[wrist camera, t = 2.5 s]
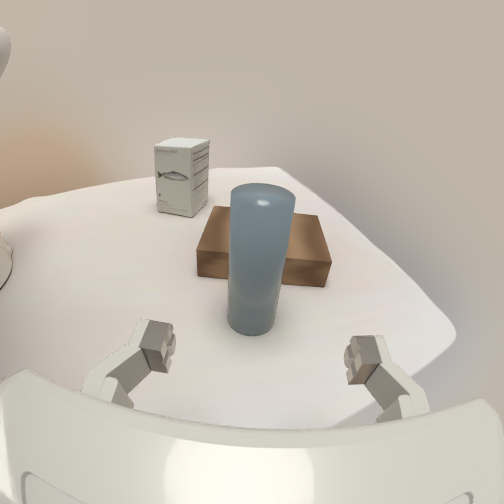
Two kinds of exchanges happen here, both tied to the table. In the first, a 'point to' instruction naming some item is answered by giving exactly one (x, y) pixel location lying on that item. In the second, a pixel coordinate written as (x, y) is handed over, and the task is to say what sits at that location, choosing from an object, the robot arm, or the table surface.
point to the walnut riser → (297, 258)
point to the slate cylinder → (257, 254)
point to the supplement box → (182, 175)
